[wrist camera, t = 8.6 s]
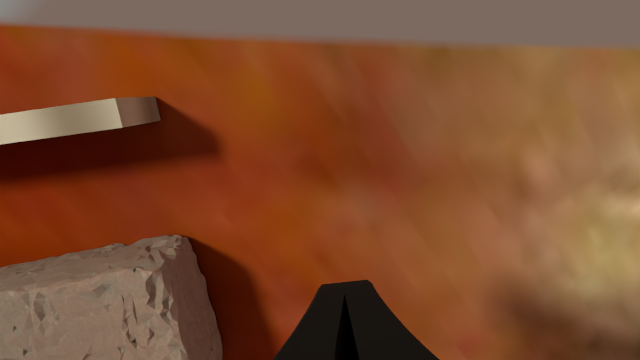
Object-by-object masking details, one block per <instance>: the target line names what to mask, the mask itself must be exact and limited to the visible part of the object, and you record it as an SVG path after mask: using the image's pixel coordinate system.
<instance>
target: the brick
mask: <svg viewBox="0 0 640 360" xmlns="http://www.w3.org/2000/svg"><path fill="white" fill-rule="evenodd" d="M0 360H222V343H221V336H220V333H219V330H218V327H217V321H216V317H215V313H214V311H213V309H212V306H211V303H210V301H209V297H208V294H207V285H206V279H205V277H204V275H203V274H201V272H200V270H199V267H198V264H197V256H196V254H195V253H194V252H193V249H192V245H191V244H190V242H189V241H188V238H187V237H182V236H179V235H174V236H169V235H164V236H160V237H155V238H147V239H142V240H139V241H137V242H135V243H133V244H131V245H129V246H127V245H124V244H117V243H114V244H111V245H108V246H105V247H102V248H96V249H91V250H86V251H82V252H74V253H67V254H65V255H62V256H60V257H49V258H46V259H41V260H37V261H34V262H27V263H22V264H14V265H9V266H6V267H2V268H0Z"/></svg>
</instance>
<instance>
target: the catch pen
mask: <svg viewBox="0 0 640 360" xmlns="http://www.w3.org/2000/svg"><path fill="white" fill-rule="evenodd" d="M156 121H161V119H160V115H159V110H158V106H157V102H156V98H155V97H133V98H113V99H106V100H99V101H92V102H86V103H79V104H72V105H65V106H58V107H51V108H44V109H37V110H30V111H23V112H16V113H9V114H2V115H0V145H1V144H8V143H15V142H23V141H30V140H37V139H44V138H51V137H59V136H66V135H73V134H80V133H87V132H95V131H102V130H109V129H116V128H123V127H129V126H134V125H140V124H145V123H151V122H156Z"/></svg>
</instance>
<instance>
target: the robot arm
mask: <svg viewBox="0 0 640 360" xmlns="http://www.w3.org/2000/svg"><path fill="white" fill-rule="evenodd" d="M273 360H439V359H438V358H437V357H436V356H435V355H434V354H432V353H431V352H430V351H429V350H428V349H427V348H426V347H425V346H424V345H423V344H422V343H421V342H420V341H419V340H418V339H416V338H415V337H414V336H413V335H412V334H411V333H410V332H409V330H408V329H407V328H406V327H405V326H404V325H403V324H402V323H401V322H400V321H399V320H398V318H397V317H396V316H395V315H394V314H393V313H392V311H391V310H390V309H389V308H388V307H387V305H386V304H385V303H384V301H383V300H382V299H381V297H380V296H379V294H378V293H377V291H376V290H375V288H374V287H373V285H372V283H371V282H370V281H368V280H361V281H351V282H342V283H333V284H323V285H321V286H320V288H319V289H318V291H317V293H316V295H315V297H314V299H313V301H312V302H311V304H310V306H309V308H308V309H307V311H306V313H305V314H304V316H303V317H302V319H301V321H300V322H299V324H298V325H297V327H296V328H295V330H294V331H293V333H292V334H291V336H290V337H289V338H288V340H287V341H286V343H285V344H284V345H283V347H282V348H281V349H280V351H279V352H278V353H277V355H276V356H275V357H274V359H273Z"/></svg>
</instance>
